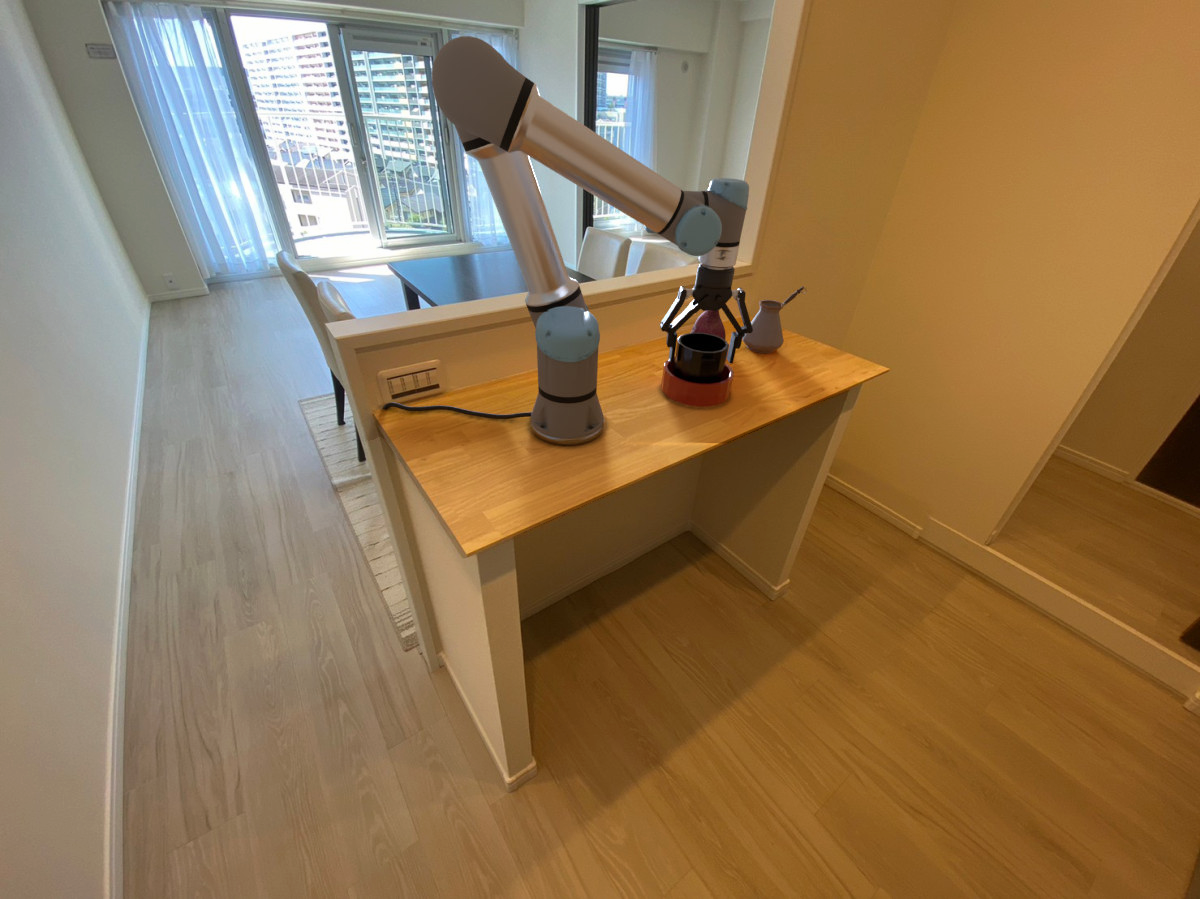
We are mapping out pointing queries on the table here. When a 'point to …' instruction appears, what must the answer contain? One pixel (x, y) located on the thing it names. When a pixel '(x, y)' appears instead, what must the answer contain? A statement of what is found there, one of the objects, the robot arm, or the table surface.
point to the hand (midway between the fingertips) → (700, 360)
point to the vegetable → (709, 324)
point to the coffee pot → (767, 326)
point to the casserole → (696, 388)
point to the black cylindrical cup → (700, 358)
